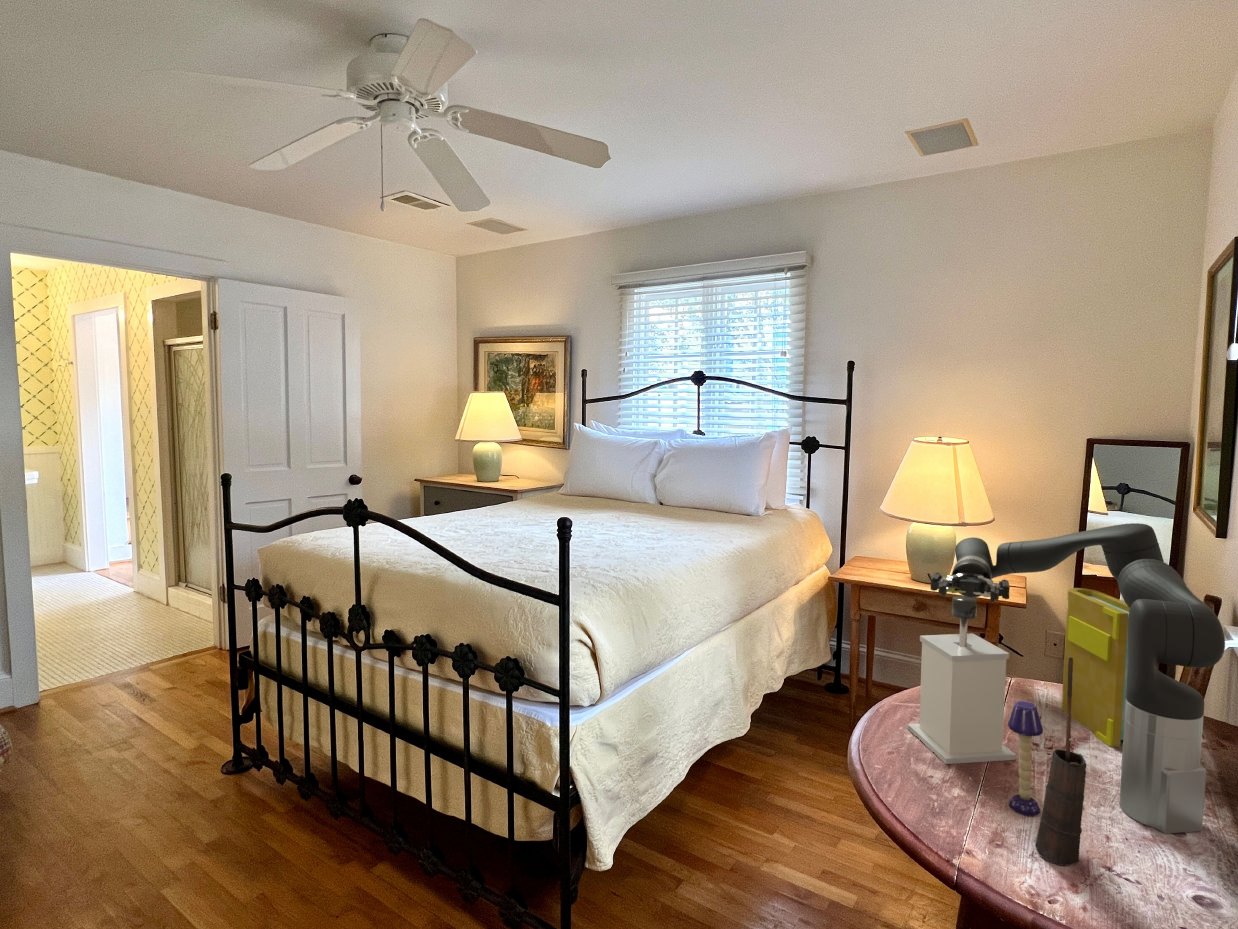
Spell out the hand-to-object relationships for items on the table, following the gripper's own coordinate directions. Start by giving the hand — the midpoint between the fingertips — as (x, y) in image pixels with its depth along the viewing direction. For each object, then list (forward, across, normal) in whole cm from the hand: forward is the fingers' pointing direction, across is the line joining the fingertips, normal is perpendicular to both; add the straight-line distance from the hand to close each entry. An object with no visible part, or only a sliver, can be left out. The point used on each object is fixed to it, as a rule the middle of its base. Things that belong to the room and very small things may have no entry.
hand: (967, 594), depth 135 cm
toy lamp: (+29, +10, +26) cm, 40 cm away
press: (+11, 0, +26) cm, 28 cm away
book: (-10, +23, +26) cm, 36 cm away
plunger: (+11, 0, +24) cm, 27 cm away
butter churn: (+40, +14, +26) cm, 50 cm away
